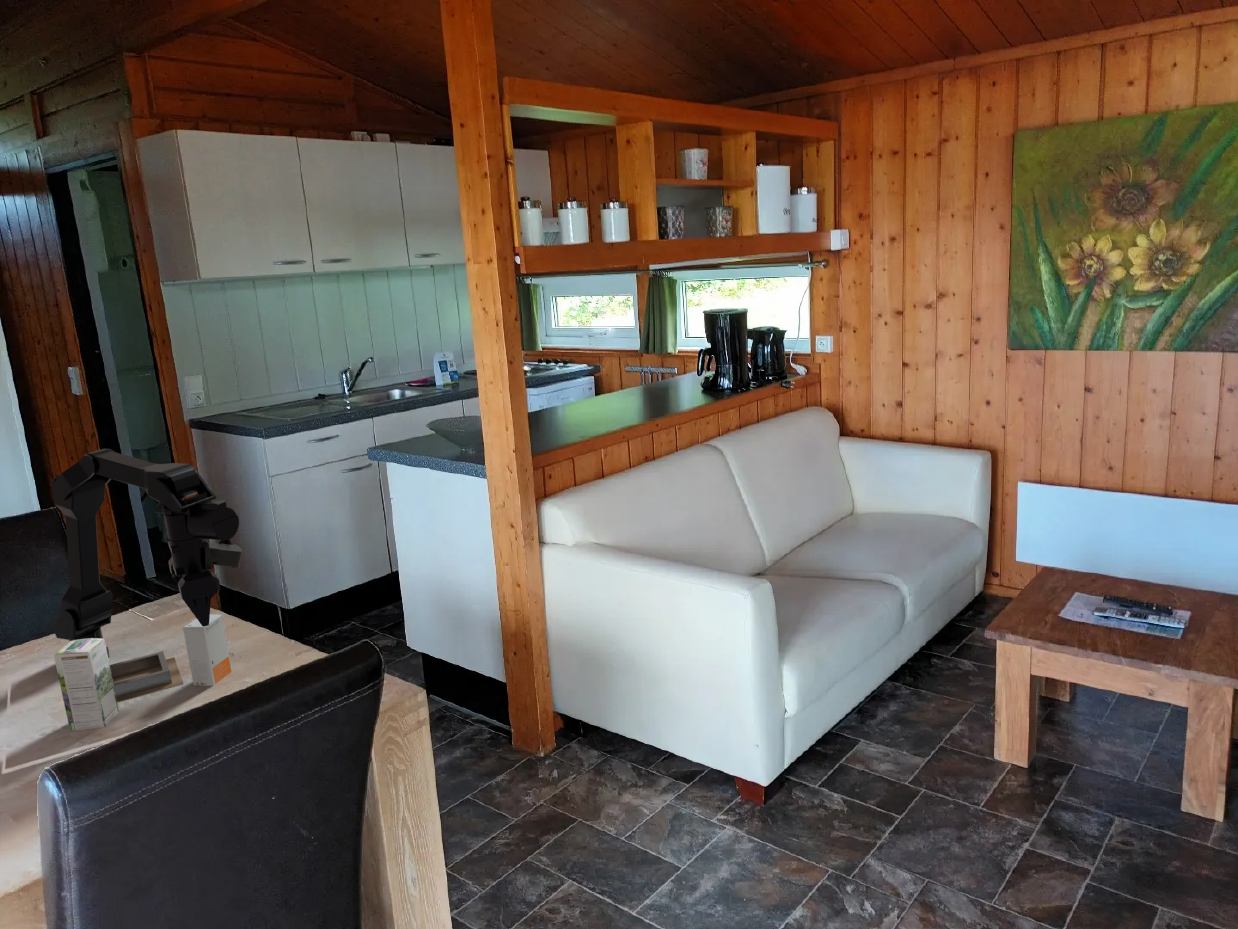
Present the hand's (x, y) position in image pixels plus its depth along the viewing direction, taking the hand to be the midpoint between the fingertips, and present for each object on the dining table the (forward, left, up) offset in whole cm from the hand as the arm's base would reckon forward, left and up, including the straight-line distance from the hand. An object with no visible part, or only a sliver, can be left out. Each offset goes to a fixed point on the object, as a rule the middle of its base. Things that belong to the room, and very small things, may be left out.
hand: (201, 617), depth 167 cm
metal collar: (-8, -12, -12) cm, 19 cm away
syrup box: (+4, -19, -13) cm, 24 cm away
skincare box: (0, 0, -13) cm, 13 cm away
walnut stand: (-8, -12, -12) cm, 19 cm away
